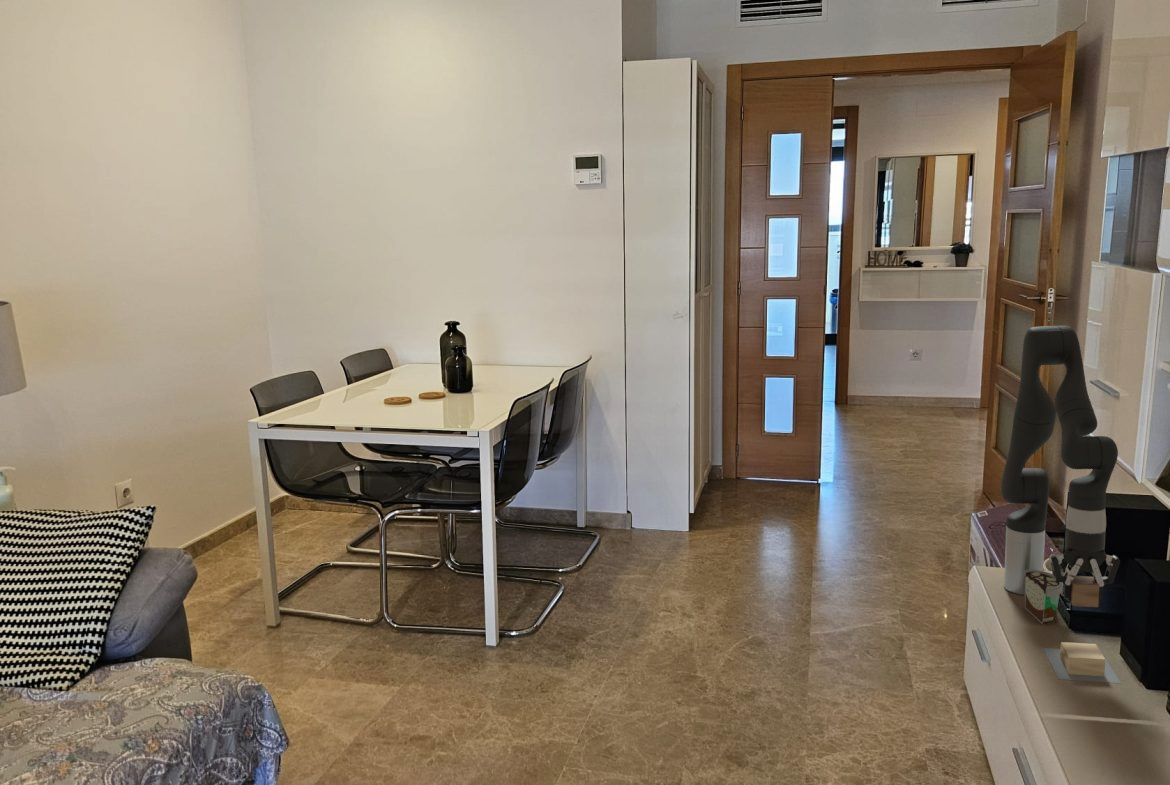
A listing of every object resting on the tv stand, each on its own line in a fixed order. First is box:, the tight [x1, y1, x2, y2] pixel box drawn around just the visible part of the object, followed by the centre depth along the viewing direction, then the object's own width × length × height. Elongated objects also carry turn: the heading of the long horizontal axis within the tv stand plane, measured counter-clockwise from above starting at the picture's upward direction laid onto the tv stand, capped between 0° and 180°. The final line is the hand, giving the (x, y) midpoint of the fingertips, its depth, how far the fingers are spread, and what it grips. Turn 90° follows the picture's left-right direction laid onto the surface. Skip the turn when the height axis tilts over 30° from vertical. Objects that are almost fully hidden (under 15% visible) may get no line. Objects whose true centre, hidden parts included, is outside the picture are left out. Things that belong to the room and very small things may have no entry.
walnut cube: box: [1069, 575, 1100, 608], centre depth 196 cm, size 5×5×5 cm
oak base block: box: [1060, 641, 1106, 676], centre depth 196 cm, size 7×7×4 cm
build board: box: [1042, 647, 1122, 684], centre depth 198 cm, size 14×12×1 cm
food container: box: [1024, 570, 1063, 625], centre depth 222 cm, size 12×6×10 cm, turn 179°
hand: (1082, 599), depth 196 cm, fingers closed on walnut cube, 5 cm apart
